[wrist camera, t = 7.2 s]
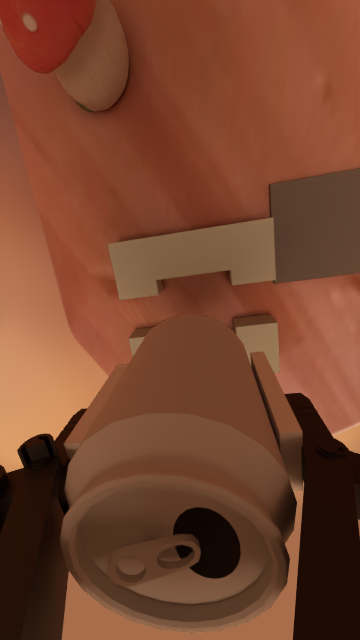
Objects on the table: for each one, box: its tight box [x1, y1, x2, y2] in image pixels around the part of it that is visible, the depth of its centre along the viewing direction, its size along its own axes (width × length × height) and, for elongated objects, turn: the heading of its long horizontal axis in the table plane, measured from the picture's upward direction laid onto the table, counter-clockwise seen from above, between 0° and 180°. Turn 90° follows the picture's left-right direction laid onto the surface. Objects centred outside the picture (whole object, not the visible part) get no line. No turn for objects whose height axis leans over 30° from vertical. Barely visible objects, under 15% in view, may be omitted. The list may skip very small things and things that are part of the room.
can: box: [59, 315, 297, 633], centre depth 12 cm, size 8×8×12 cm
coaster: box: [269, 168, 360, 284], centre depth 30 cm, size 11×11×1 cm
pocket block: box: [108, 217, 280, 373], centre depth 32 cm, size 18×18×4 cm
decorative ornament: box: [0, 0, 129, 112], centre depth 20 cm, size 9×7×15 cm
